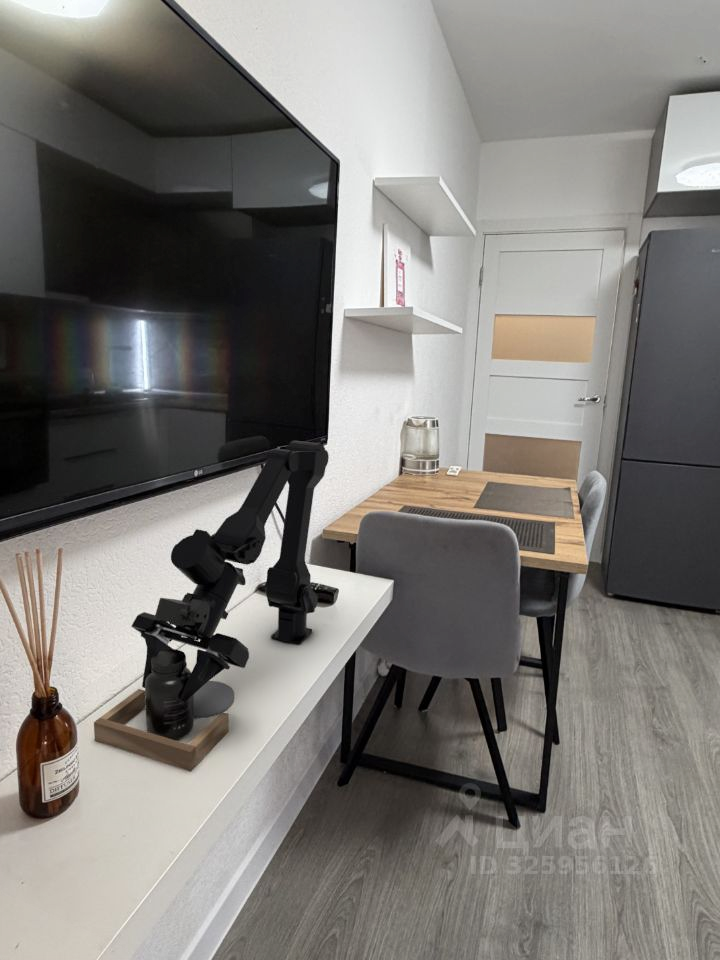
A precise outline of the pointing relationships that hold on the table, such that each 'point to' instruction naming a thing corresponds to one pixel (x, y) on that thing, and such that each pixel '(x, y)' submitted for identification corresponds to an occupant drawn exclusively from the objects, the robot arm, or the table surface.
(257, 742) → the table surface
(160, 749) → the walnut bay
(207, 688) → the coaster
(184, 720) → the supplement bottle
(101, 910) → the table surface
